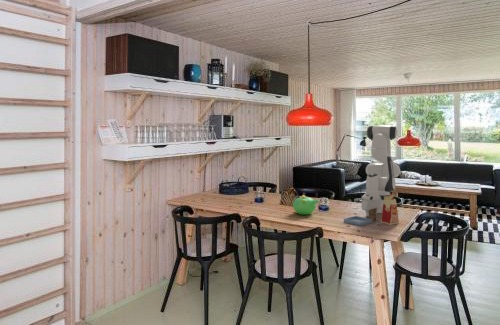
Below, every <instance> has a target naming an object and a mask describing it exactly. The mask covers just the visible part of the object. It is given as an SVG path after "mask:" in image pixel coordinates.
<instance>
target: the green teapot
mask: <svg viewBox="0 0 500 325" xmlns="http://www.w3.org/2000/svg"><path fill="white" fill-rule="evenodd" d="M318 203H320V199H313V198H311V197H309V196H306V195H305V194H302V195H301V196H300V197H297V198H296V199H294V200H293V203H292V208H293V210H294V211H295V213H297V214H299V215H310V214H312V213H313V212H314V211H315V210H316V204H318Z"/></svg>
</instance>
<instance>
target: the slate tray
mask: <svg viewBox="0 0 500 325" xmlns="http://www.w3.org/2000/svg"><path fill="white" fill-rule="evenodd" d="M343 223H347V224H350V225H355V226H358V225H359V226H358V227H363V226H366V225H369V224H373V221H372V219H368V218H366V217H364V216H359V215H354V216H353V215H352V216H350V217H345V218H343Z"/></svg>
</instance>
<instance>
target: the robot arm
mask: <svg viewBox="0 0 500 325" xmlns="http://www.w3.org/2000/svg"><path fill="white" fill-rule="evenodd" d="M365 132H366V133H365V134H366V137H367V139H369V141H372V142H371V147H370V155H371V158H373V160H375V161H377V162H379V163H376V162H375V163H373V162H372V163H368V164H367V165H366V167H365V173H366V175H367V176H366V180H365V182H366V183H365V188H366V189H365V193H364V194H363V195H361V206H360V208H361V210H363V211H365V217H366V216H369V214H370V213H369V212H368V211H369V210H371V209H375V208H377V212H376V215H377V214H382V210H383V203H384V198H385V197H384V196H393V194H390V193H391V192H393V191H395V190H396V186H397V185H396V179H395V178H398V177H399V175H400V174H401V169H400V168H401V167H400V166H399V165H398V164H396V162H395V161H394V160H393V158H392V152H391V148H392V147H391V145H392V144H391V141H392V140H395V139H396V138H397V136H398V129H397V127H396V126H395V125H385V124H382V125H381V124H380V125H370V126H368V127H367V129H366V131H365ZM397 211H398V212H399V209H398V208H397Z"/></svg>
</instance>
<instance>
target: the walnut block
mask: <svg viewBox="0 0 500 325" xmlns="http://www.w3.org/2000/svg"><path fill="white" fill-rule="evenodd" d="M368 212H369V213H370V214H369V216H366V215H365V218H368V219H372V222H376V221H377V214H376V212H377V208H375V209H371V210H369V211H368Z"/></svg>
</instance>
